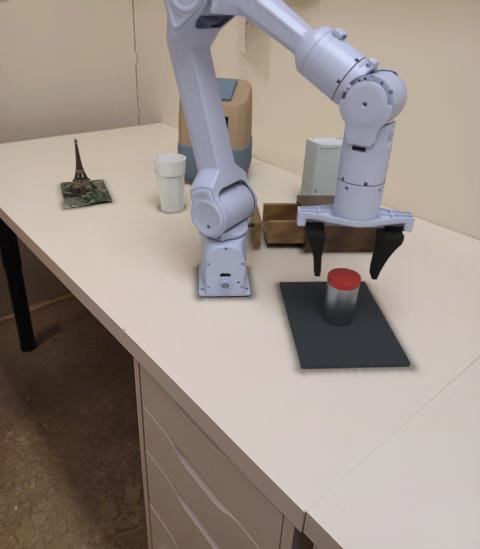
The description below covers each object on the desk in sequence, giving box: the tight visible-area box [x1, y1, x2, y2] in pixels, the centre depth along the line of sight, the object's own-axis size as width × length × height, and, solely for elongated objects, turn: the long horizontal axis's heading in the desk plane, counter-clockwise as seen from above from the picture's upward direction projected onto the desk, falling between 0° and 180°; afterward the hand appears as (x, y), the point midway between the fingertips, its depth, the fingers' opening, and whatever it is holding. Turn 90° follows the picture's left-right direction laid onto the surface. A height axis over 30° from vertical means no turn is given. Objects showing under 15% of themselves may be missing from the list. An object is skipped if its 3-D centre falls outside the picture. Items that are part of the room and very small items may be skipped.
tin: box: [322, 267, 362, 326], centre depth 67 cm, size 4×4×7 cm
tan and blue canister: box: [177, 77, 253, 184], centre depth 115 cm, size 17×17×23 cm
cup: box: [152, 152, 186, 213], centre depth 100 cm, size 7×7×11 cm
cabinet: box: [295, 194, 376, 253], centre depth 91 cm, size 14×12×7 cm
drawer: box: [248, 202, 306, 247], centre depth 90 cm, size 17×10×5 cm, turn 94°
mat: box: [279, 280, 411, 370], centre depth 68 cm, size 20×14×1 cm
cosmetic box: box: [299, 137, 343, 196], centre depth 102 cm, size 8×6×15 cm
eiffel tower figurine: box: [60, 138, 113, 210], centre depth 105 cm, size 15×10×13 cm
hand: (344, 274), depth 65 cm, fingers open, 7 cm apart
